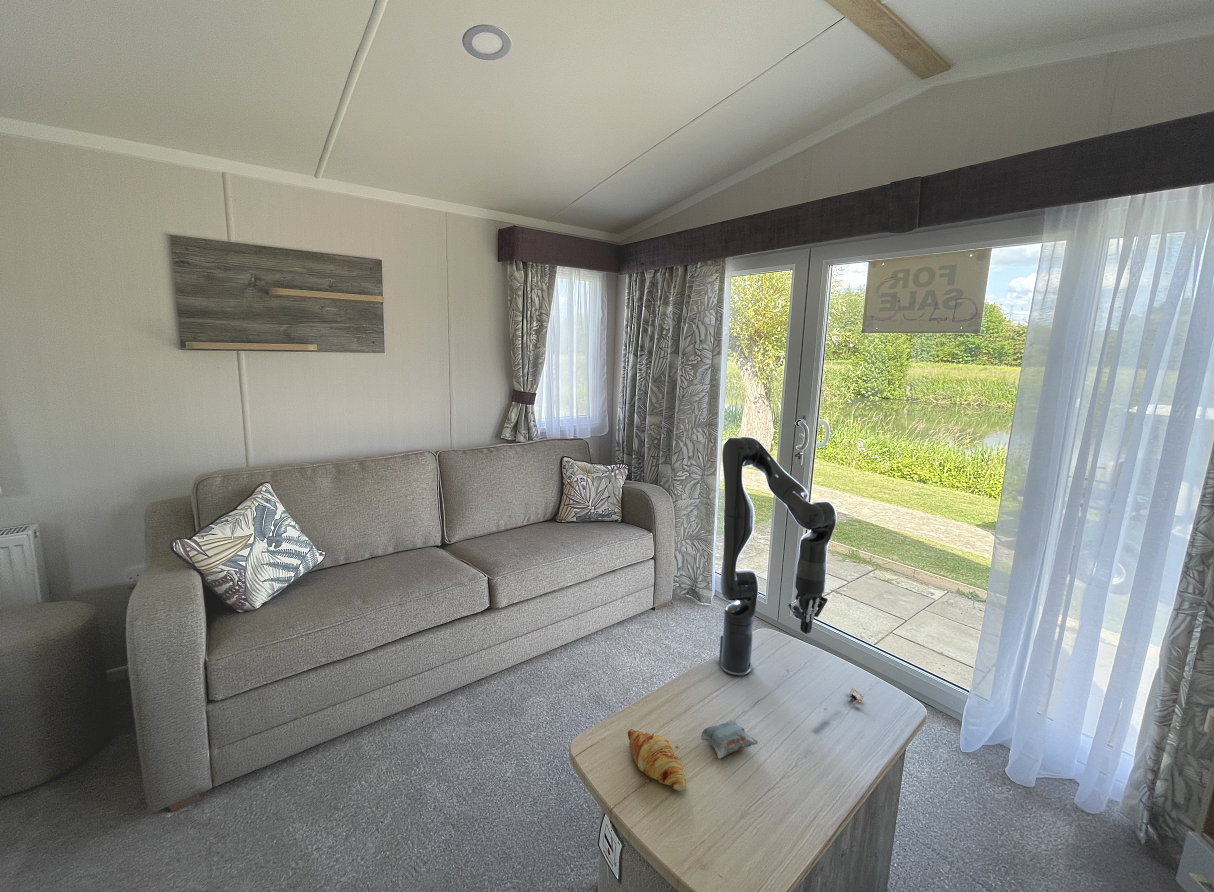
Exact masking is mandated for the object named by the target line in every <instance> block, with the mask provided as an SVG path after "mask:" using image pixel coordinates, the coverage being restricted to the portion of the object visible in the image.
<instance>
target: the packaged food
mask: <svg viewBox="0 0 1214 892" xmlns="http://www.w3.org/2000/svg"><path fill="white" fill-rule="evenodd" d="M700 739H701V740H702V741H705V742H706V743H708V744H709V745H711V746H712V747H713V749H714V751H715V753H716V756H717V759H719V760H721V759H722V758H724V757H726V756H727V755H730V754H731V753H733V752H737V751H740V750H742V749H745V748H749V747H752V746H754V745H758V740H757V739H755V738H754V737H752V736H751V735H750V734H748V733H747V732H746V730H745V729H744V727H743V726H741V725H740V724H739V723H738V722H736V721H734V720H732V719H730V720H728V721H726V722H723V723H720V724H716V725H712V726H708V727H705V728H704V729H703V730H702V732H701V735H700Z"/></svg>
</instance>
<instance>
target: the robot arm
mask: <svg viewBox="0 0 1214 892" xmlns="http://www.w3.org/2000/svg"><path fill="white" fill-rule="evenodd" d="M721 450H722V453H721V454H722V455H721V458H722V459H721V461H722V471H723V472H722V473H723V494H724V495H723V497H724V499H723V501H724V502H723V503H724V504H723V552H722V561H721V572H720V591H721V595H722V597H723V599H724V600H726V601H732V603H729V604H727V605H726V607H725V608H724V609H723V610H724V611H723V628H722V635H721V636H720V641H719V657H718V658H719V659H718V660H719V661H718V663H719V664H720V668H721V669H722V670H723V671H724V672H725V673H727V674H729V675H731V676H736V677H737V676H738V677H742V676H746V675H748V674H749V673H750V672H751V669H752V650H753V636H754V621H755V616H756V614H757V613H756V612H757V604H758V596H759V578H758V576H757V574H756V572H755V571H754V570H752V569H750V568H749V569H737V564H738V561H739V557H740V555H741V553H742V552H743V550H744V548H745V547H746V545H747V544H748V542H749V541H750V539H751V537H752V535H753V534H754V530H755V507H754V505H753V501H752V500H751V498H750V496H749V495H748V493H747V491H746V488H745V485H744V480H743V479H744V478H743V470H744V469H743V467H753V468H754V469H756V470H758V471H759V472H760V473H761V474H762V475H763V476H764V479H765V481H766V482H765V483H766V485H767V487H768V489H769V491H770V492H771V493H772V494H773V496H775V497H776V499H778V500H779V501H780V502H782V504H783V505H785V507H786V508H787V510H788V511H789V513H790V514H791V515H792V516H791V517H793V519H794V521H795V522H796V524H797V525H798V526H800V527H801V528H803V529H805V530H809V531H808V532H807V533H805V534H804V535H802V536H801V538H800V540H799V546H798V547H799V548H798V557H797V562H796V572H795V582H794V586H795V589H796V591H797V592H796V595H795V600H794V602H790V603H788V608H789V610H790V611H791V613H792V614H793V615H794V617H795V618H796V619H798V620H800V628H799V629H800V631H801V632H802V633H804V634H805V635H807V634H810V633H812V629H813V621H814V620H815V618H818V617H819V616H820V614H821V613H822V611H823V609H824V608H825V606H826V604H827V603H828V598H827V597H825V596H823V594H824V593H825V589H826V579H827V569H828V565H827V560H828V559H827V558H828V549H829V544H830V541H831V539H832V536H833V533H834V530H835V529H836V525H837V520H838V515H837V510H836V508H835V506H834V505H833V504H832V503H831V502H830V501H827V500H818V501H812V502H809V501H808V498H809V491H808V490H807V488H805V487H804V486H803V485H802V484H801V483H799V481H798V480H796V479H795V478H793V477H792V476H791V475H790V474H789V473H787V471H785V470H784V469H783V467H782V466H781V465H780V464H779V463H778V462H777V461H776V459H775V458H774V457H773V456H772V455H771V453H769V451H768V450H767V448H766V447H765V446H764V445H763V444H762V443H761V442H760V441H759V440H758V439H757V438H756V437H753V436H749V435H748V436H731V437H728V438H727V439H726V440H725V441H724V442H723V445H722V449H721Z"/></svg>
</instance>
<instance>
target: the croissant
mask: <svg viewBox="0 0 1214 892" xmlns="http://www.w3.org/2000/svg"><path fill="white" fill-rule="evenodd" d="M627 738H628V740H629V742H628V743H629V745H628V747H629V750H630V752H631V755H632V759H633V761H634V763H635V764H636V766H637V768H638V769H639V770H640V772H642V773H643V774H644V775H646V776H647V777H649V778H650V779H654V780H656V781H658V782H659V783H660V784H663V785H667V786H670V787H671V788H672V789H673V790H675V791H678V792H684V791H685V790H686V788H687V787H686V777H685V773H684V772H683V765H682V763H681V761H680V759H679V757H677V756H676V755H675V753H674V749H673V747H672V746H671V744H670V742H669V740H667V739H666V738H665V737H663V736H662V735H660V734H658V733H655V734H654V733H652V734H651V733H650V732H645V733H643V731H640V730H634V729H633V728H630V729H629V730H628V731H627Z"/></svg>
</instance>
